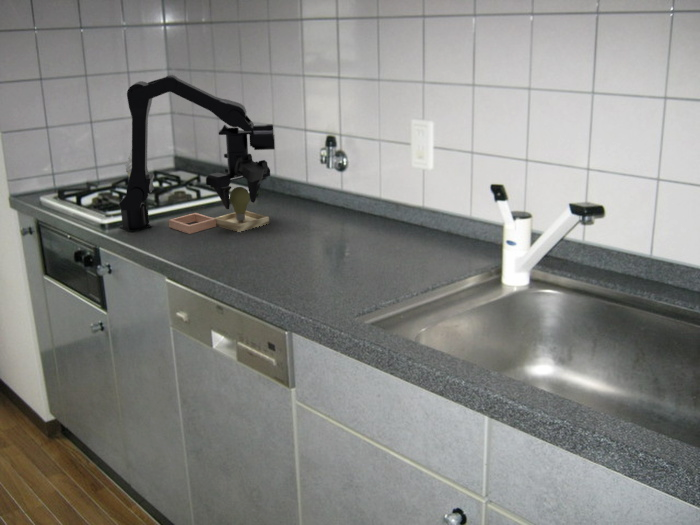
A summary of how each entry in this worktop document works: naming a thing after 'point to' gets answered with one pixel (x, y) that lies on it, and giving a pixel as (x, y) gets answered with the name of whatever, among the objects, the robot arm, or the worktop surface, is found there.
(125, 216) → the robot arm
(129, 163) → the ice cream cone
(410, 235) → the worktop surface
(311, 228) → the worktop surface
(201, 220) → the shallow square box
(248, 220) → the tray
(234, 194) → the light bulb
